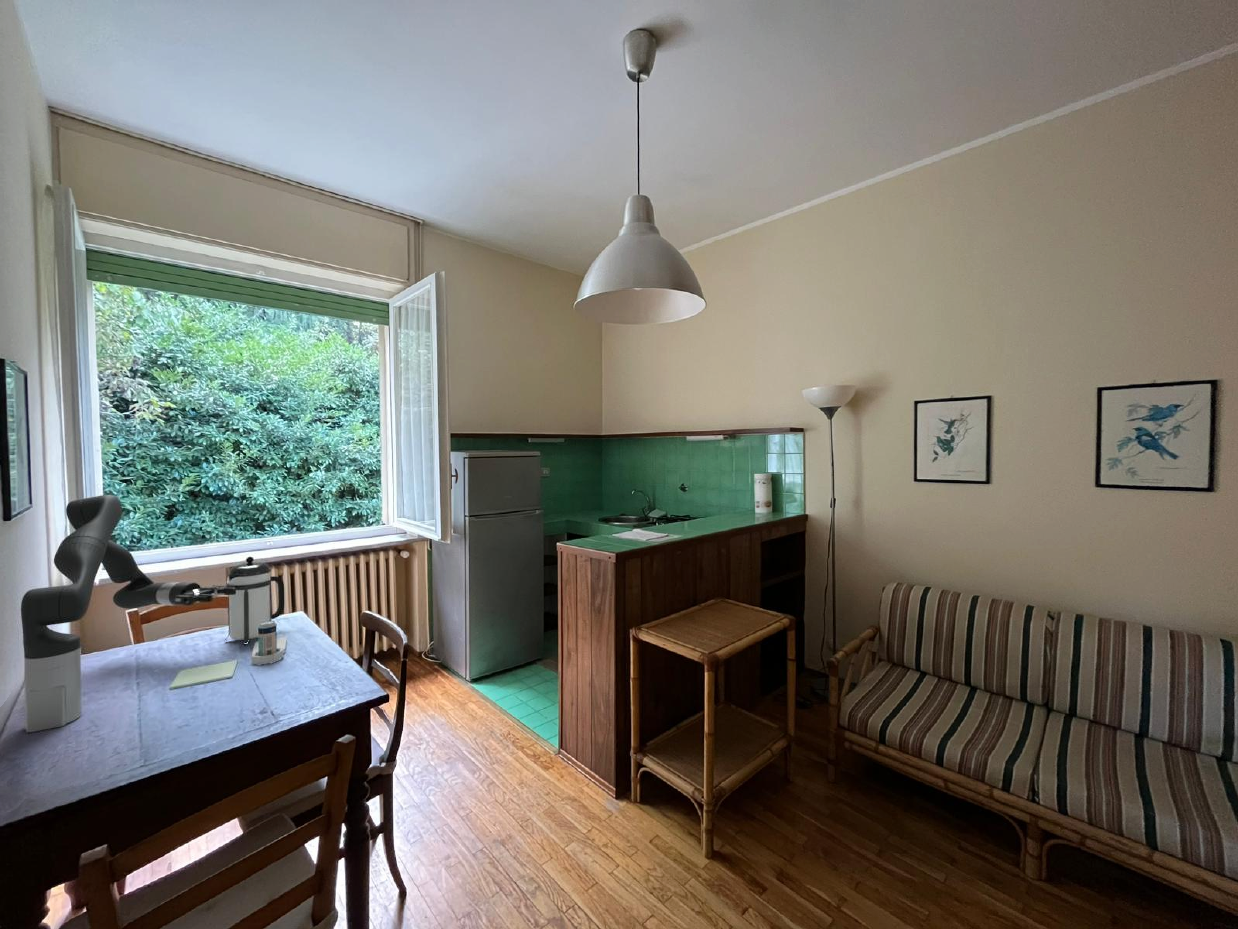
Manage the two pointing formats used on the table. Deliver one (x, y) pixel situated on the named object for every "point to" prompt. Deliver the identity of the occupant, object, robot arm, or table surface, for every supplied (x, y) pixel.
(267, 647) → the beer can
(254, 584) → the coffee press
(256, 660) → the charging dock
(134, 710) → the table surface
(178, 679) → the sage mat
